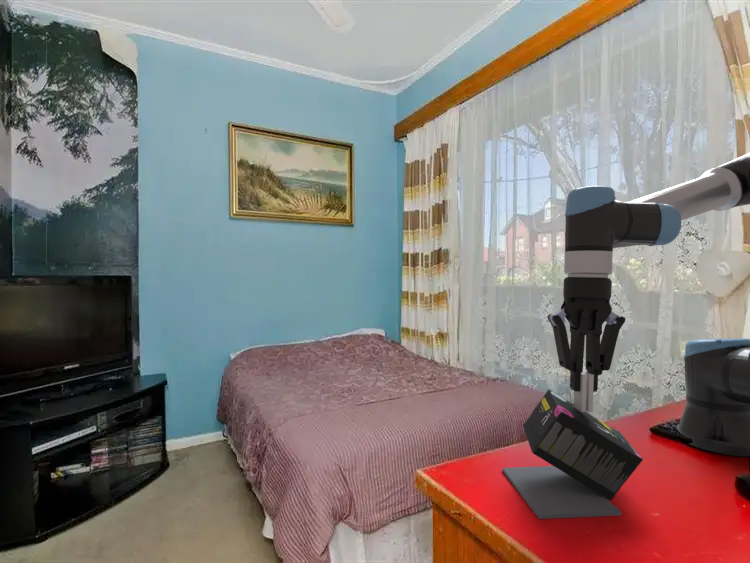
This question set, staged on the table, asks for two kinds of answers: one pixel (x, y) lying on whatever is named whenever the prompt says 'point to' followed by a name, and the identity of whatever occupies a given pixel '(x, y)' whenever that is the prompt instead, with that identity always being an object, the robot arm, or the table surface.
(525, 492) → the felt pad
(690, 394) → the robot arm
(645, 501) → the table surface
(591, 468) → the tampon box
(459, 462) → the table surface
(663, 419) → the table surface
